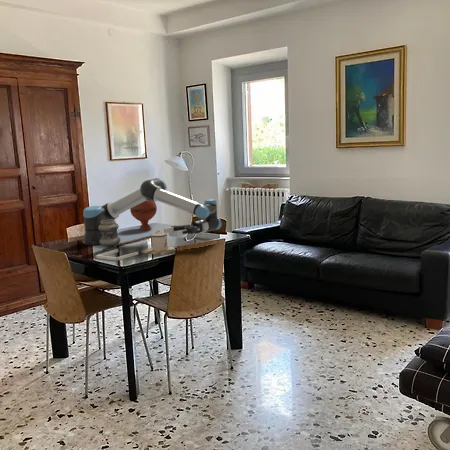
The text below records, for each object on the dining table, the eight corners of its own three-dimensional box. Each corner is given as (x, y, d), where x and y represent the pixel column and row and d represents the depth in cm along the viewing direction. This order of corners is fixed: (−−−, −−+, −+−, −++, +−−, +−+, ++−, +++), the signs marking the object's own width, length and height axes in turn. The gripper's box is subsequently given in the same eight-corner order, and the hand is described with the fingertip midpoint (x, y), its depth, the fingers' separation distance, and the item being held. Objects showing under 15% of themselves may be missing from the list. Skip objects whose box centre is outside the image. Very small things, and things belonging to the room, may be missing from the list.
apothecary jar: (100, 249, 294) (97, 219, 291) (120, 247, 297) (118, 218, 294) (100, 253, 283) (97, 222, 280) (121, 251, 285) (118, 221, 282)
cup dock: (87, 256, 274) (87, 254, 274) (109, 250, 288) (109, 248, 287) (116, 260, 261) (116, 258, 261) (138, 254, 275) (138, 251, 274)
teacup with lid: (168, 250, 275) (167, 230, 273) (152, 252, 273) (150, 231, 271) (167, 246, 286) (165, 227, 284) (151, 247, 285) (150, 228, 283)
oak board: (141, 252, 279) (141, 250, 278) (157, 247, 290) (157, 245, 290) (162, 255, 270) (162, 253, 270) (178, 250, 281) (178, 247, 281)
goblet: (126, 230, 355) (124, 197, 351) (141, 226, 372) (139, 194, 368) (148, 231, 347) (146, 197, 343) (163, 227, 364) (160, 194, 360)
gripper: (212, 234, 288) (183, 240, 274) (187, 230, 307) (159, 236, 293) (212, 222, 287) (182, 227, 273) (186, 219, 306) (158, 223, 292)
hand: (170, 232), depth 283 cm, fingers open, 13 cm apart
